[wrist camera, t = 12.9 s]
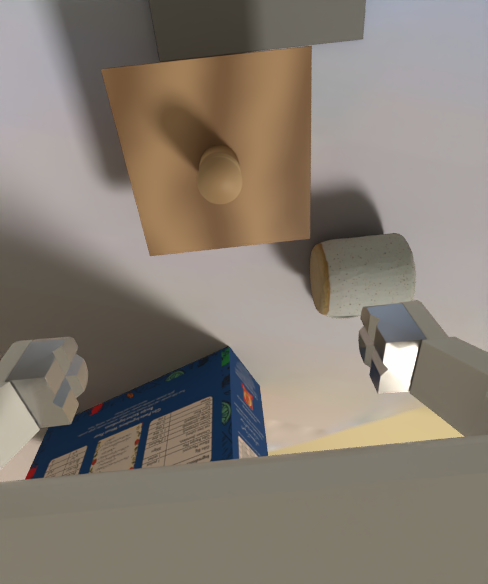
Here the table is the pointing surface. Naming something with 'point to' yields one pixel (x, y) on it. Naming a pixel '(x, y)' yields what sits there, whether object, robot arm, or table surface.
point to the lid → (217, 148)
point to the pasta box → (163, 423)
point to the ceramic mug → (361, 274)
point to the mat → (251, 25)
